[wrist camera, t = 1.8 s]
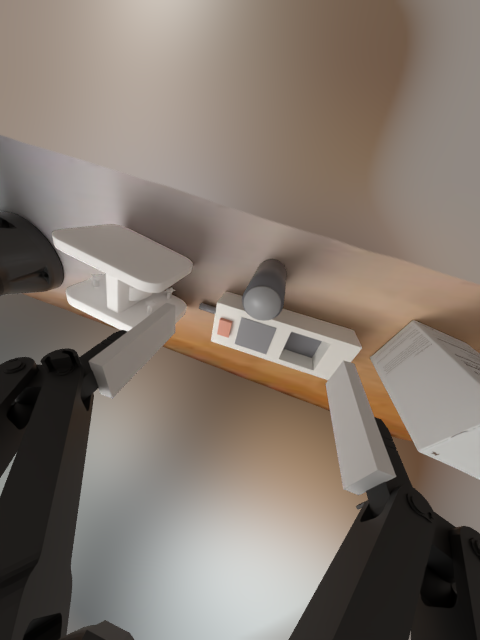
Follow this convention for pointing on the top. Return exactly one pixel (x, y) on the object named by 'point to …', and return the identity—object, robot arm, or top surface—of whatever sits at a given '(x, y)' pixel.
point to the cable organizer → (122, 274)
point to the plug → (266, 291)
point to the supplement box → (435, 393)
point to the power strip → (283, 337)
